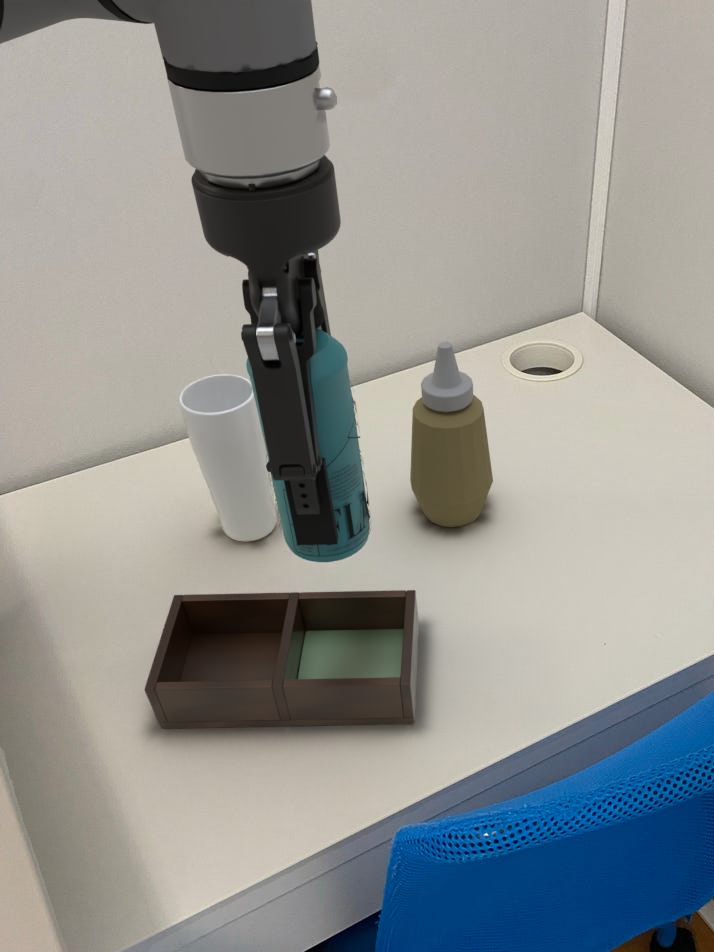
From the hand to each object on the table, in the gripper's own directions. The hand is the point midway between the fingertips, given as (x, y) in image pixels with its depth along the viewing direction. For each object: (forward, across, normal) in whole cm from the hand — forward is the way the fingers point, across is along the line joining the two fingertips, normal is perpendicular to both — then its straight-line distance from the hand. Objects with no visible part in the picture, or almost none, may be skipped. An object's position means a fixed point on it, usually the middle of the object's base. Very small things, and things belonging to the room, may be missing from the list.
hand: (323, 509), depth 66 cm
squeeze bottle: (+18, +22, -8) cm, 30 cm away
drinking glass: (+18, +20, +12) cm, 29 cm away
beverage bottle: (+4, 0, 0) cm, 4 cm away
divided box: (+18, 0, +5) cm, 18 cm away
